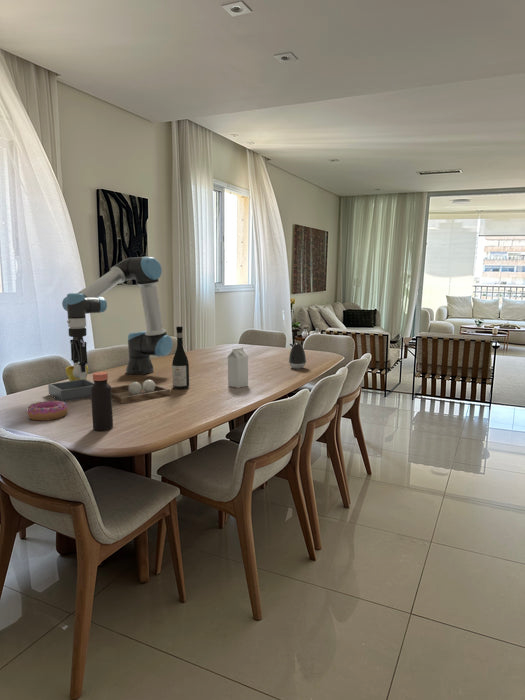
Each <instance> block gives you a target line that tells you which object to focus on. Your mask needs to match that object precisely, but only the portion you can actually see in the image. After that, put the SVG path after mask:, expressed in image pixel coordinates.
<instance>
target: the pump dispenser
mask: <svg viewBox="0 0 525 700" xmlns="http://www.w3.org/2000/svg"><path fill="white" fill-rule="evenodd" d="M289 345H290V346H291V349H290V353H289V357H288V363H289V366H290V368H292V369H294V370H300V369H303V368H304V367H305V366H306V363H307V358H306V356H307V355H306V353H305V348H304V347H303V345H302V344H301V343H300V342H295V343H294V344H293V343H289Z"/></svg>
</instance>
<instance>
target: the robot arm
mask: <svg viewBox="0 0 525 700" xmlns="http://www.w3.org/2000/svg"><path fill="white" fill-rule="evenodd" d="M162 272H163V270H162V266H161V263H160V262H159V260H157V259H156V258H155V257H153V256H137V257H136V256H135V257H131V256H130V257H128V258H125V259H123V260H121V261H119V262H118V263H116V264H115V265H113V266H112V267H110V270H109V271H108V272H106V273H105V274H103V275H102V276H100V277H99V278H97V279H96V280H95V281H93V282H91V283H90V284H89V285H87V286H85V288H83V289H82V290H80V291H78V292H75V293H73V292H70V293H67V294H66V296H65V297H64V298H63V299H62V302H61V303H62V305H61V306H62V308H63V310H65V311H66V313H67V321H66V323H67V325H68V327H69V328H68V337H71V338H72V339H70V340H69V344H70V358H71V359H70V360H71V362H72V364H73V366H74V368H75V367H76V366H79V375H80V379H86V380H87V378H86V366H87V364H88V352H87V351H88V350H87V342H86V341H85V340H84V337H86V336H87V328H86V327H87V317H86V314H100V313H104V312H106V310H107V308H108V302H107V300H106V298H105V297H103V295H104V294H106V293H107V292H109V291H110V290H111V289H112V288H114V287H116V286H117V285H118V284H124V282H127V281H129V280H130V281H131V280H135V283H136V285H137V286H138V287H139V289H140V295H141V296H140V297H141V301H142V308H143V314H144V320H145V325H146V331H145V330H144V331H137V332H131V333H129V334H128V336H127V347H128V348H127V350H128V361H127V365H126V370H125V372H126V374H128V373H129V374H128V375H146V374H147V373H148V374H152V373H153V372H154V366H153V363H152V360H151V356H155V357H165V356H167V355H169V354H170V352H171V350H172V348H173V339H172V337H171V336H170V335H168V334H167V329H165V328H164V326H163V320H162V314H161V307H160V301H159V300H160V299H159V293H158V288H157V287H158V286H157V285H158V284H159V279H160V278H161V276H162ZM151 372H152V373H151ZM74 377H75V376H74Z"/></svg>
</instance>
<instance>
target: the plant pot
mask: <svg viewBox="0 0 525 700" xmlns="http://www.w3.org/2000/svg"><path fill="white" fill-rule="evenodd" d="M73 369H74V365H69V366H67V367H65V375H66V376H67V377H68V381H75V380H82V379H79V378H76V377H74V375H73ZM86 370H87V374H86V379H87V377H88V374H89V366H88V365H86Z"/></svg>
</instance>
